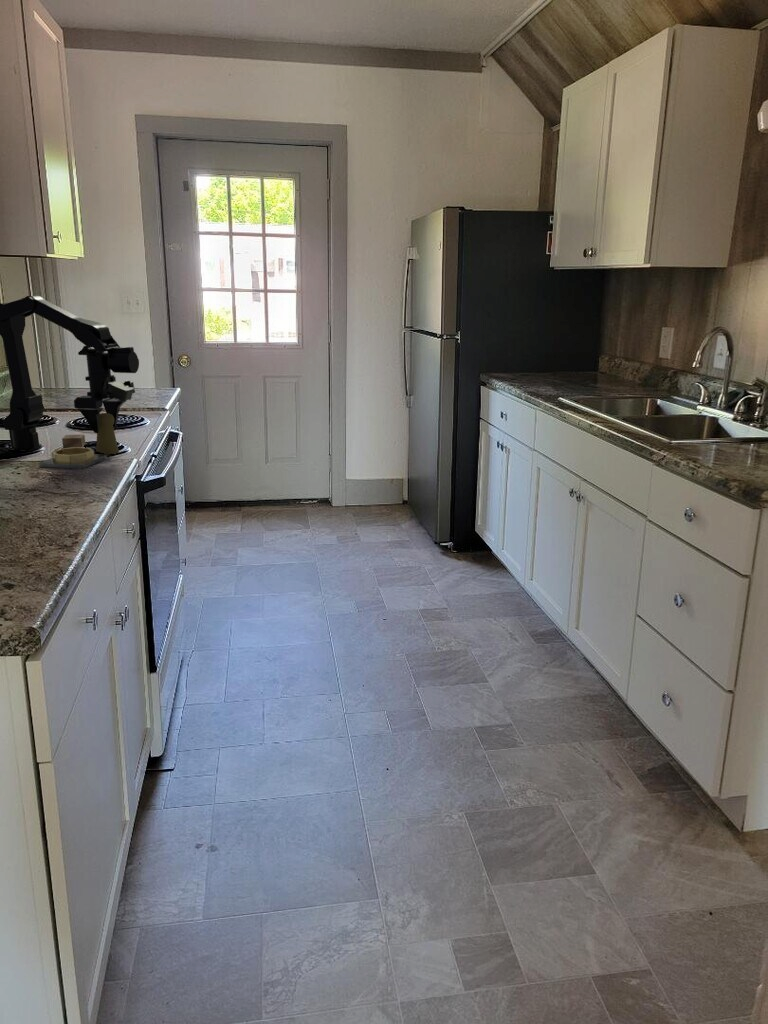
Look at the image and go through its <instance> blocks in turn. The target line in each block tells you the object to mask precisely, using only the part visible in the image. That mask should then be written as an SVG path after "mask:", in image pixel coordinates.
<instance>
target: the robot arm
mask: <svg viewBox="0 0 768 1024" xmlns="http://www.w3.org/2000/svg"><path fill="white" fill-rule="evenodd" d="M34 314H35V315H37V316H39V317H42V318H43V319H45V320H48V321H49V322H51V323H53V324H55V325H56V326H59V327H61V328H62V329H64V330H66V331H68V332H70V333H71V334H72V335H73V336H74V338H75V339H76V340H77V341H79V342H80V343H81V344H83V347H82V349H80V351H78V352H77V354H78V356H85V357H86V365H87V373H88V374H87V376H85V377H84V378H85V379H84V380H85V382H87V381H88V383H89V391H87V392H86V395H81V396H77V397H76V398H75V399H74V400H73V408H75V409H77V411H78V412H80V414H82V416H83V417H84V419H85V420H86V422H87V424H88V425H89V427H90V428H91V429H92V431H93V433H94V434H97V433H99V414H101V413H102V411H103V410H105V413H109V414H112V415H113V416H114V424H113V428H114V427H116V426H117V422H118V418H119V413H120V410H121V409H120V408H121V407H122V405H124V404H125V403H126V402H127V401H128V400H129V401H131V400H132V396H133V394H135V393H136V390H135V385H134V381H132V380H125V381H124V382H122V381H121V382H119V381H117V379H116V376H115V375H113V374H112V373H114V374H116V373H118V374H137V372H138V370H139V368H140V367H139V366H140V359H139V357H138V354H137V353H136V352H135V349H134V347H133V346H128V347H127V346H126V347H121V346H120V345H119V344H118V342H117V341H116V340H115V339H114V337H113V335H112V334H111V332H110V328H109V327H108V326H107V325H106V324H104V323H102V322H101V323H100V322H98V321H94V320H90V319H87V318H86V319H85V318H82V317H79V316H77V315H75V314H73V313H71V312H69V311H67V310H65V309H64V308H62V307H60V306H58V305H55V304H54V303H52V302H50V301H49V300H46V299H44V298H43V297H42V296H40V295H26V296H25V297H23V298H19V299H17V300H13V301H10V302H1V303H0V336H1V339H2V342H3V349H4V352H5V358H6V364H7V369H8V372H9V373H8V374H9V377H10V384H11V388H12V394H11V397H10V400H9V414H8V415H7V416H6V418H5V419H4V420H3V421H2V426H3V427H4V430H6V431H8V433H9V439H10V448H11V447H12V448H14V449H16V450H25V451H24V452H31V451H34V450H37V449H39V448H41V447H42V445H41V444H40V441H39V433H38V432H37V427H36V426H39V423H40V419H41V418H42V416H43V415H44V410H45V406H44V404H43V403H44V402H43V396H42V394H36V392H35V391H34V390H33V387H32V381H31V378H30V377H31V376H30V371H29V365H28V361H27V355H26V350H25V344H24V340H23V339H24V338H23V335H24V332H25V328H26V318H28V317H31V316H32V315H34ZM111 371H112V373H111ZM102 406H103V407H104V408H103V407H102Z"/></svg>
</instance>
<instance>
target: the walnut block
mask: <svg viewBox="0 0 768 1024" xmlns="http://www.w3.org/2000/svg"><path fill="white" fill-rule="evenodd" d="M61 441H62V449H63V448H71V447H83V446H84V445H85V444H86V437H85V434H64V436H63V437H62V439H61Z"/></svg>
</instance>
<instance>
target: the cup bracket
mask: <svg viewBox="0 0 768 1024" xmlns="http://www.w3.org/2000/svg"><path fill="white" fill-rule="evenodd" d="M106 458H107V459H108V455H103V454H96V453H95V451H94V449H92V448H91V447H86V448H85V447H72V448H63V447H62V448H58V449H55V450H53V451H51V458H48V459H45V460H43V461H40V462H39V463H38V464H39V467H40V468H57V469H58V468H59V469H60V468H61V469H75V468H79V469H80V470H84V469H87V468H88V466H89V467H91V466H93V465H95V464H98V463H100V462H102V461H104V460H107V459H106ZM101 460H102V461H101ZM99 461H100V462H99ZM97 462H98V463H97ZM90 465H91V466H90Z"/></svg>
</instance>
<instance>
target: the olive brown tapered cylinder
mask: <svg viewBox="0 0 768 1024" xmlns="http://www.w3.org/2000/svg"><path fill="white" fill-rule="evenodd" d="M113 424H114V416H113V415H112V414H109V413H106V412H100V413H99V433H96V447H95V448H96V450H95V452H96V451H98V452H100V453H104V454H114V453H118V452H119V453H120V451H119V445H118V443H117V437H116V432H115V428H114V427H113ZM119 453H118V454H119Z"/></svg>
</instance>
